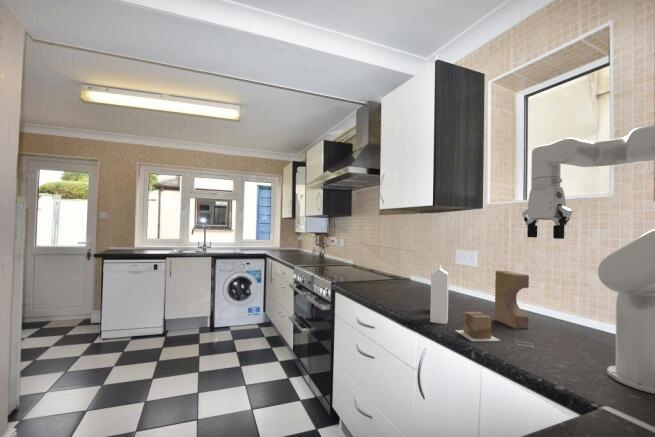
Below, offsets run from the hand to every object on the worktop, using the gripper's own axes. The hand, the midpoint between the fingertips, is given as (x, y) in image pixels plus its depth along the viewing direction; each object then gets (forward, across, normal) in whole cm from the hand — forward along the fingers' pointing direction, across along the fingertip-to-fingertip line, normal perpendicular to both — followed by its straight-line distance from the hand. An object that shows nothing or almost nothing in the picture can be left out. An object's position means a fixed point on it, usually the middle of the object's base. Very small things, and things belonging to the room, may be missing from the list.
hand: (544, 237), depth 95 cm
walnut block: (+34, +10, +16) cm, 39 cm away
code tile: (+34, +2, +5) cm, 35 cm away
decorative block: (+34, +21, -6) cm, 41 cm away
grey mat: (+34, +10, +16) cm, 39 cm away
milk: (+34, +26, +21) cm, 48 cm away
